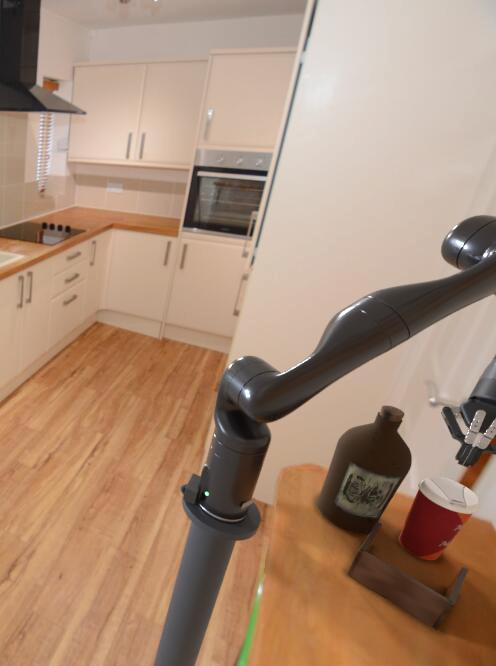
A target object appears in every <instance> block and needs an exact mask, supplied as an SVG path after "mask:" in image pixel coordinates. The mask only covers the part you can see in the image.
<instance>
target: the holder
mask: <svg viewBox="0 0 496 666" xmlns="http://www.w3.org/2000/svg"><path fill="white" fill-rule="evenodd" d="M382 525H383V523H381V522H380V521H378V522H377V523H376V525H375V526H374V528H373V529H372V531H370V532H369V534H368V535H367V537H366V538H365V540H364V541H363V542H362V544H361V546H360V547H359V549H358V551H357V552H356V554H355V556H354V558H353V560H352V562H351V564H350V566H349V568H348V570H347V572H346V575H348V576H350V577H351V578H352V579H354V580H355V581H358V582H359V583H361V584H363V585H364V586H366V587H367V588H369V589H371V590H372V591H374V592H375V593H377V594H379V595H380V596H382V597H383V598H385V599H386V600H388V601H390V602H392V604H395V605H396V606H398V607H399V608H401V609H402V610H404V611H406V612H407V613H410V614H411V615H412V616H414V617H415V618H417V619H419V620H420V621H422V622H423V623H425V624H427V625H428V626H430V627H432V628H433V629H434V630H436V631H438V630H439V629H440V627H441V626H442V625H443V623H444V621H445V620H446V619H447V617H448V615H450V613H451V611H452V610H453V608H454V607H455V605H456V602H457V600H458V598H459V595H460V592H461V590H462V588H463V585H464V582H465V579H466V578H467V574H468V573H469V569H468V568H466V567H464V566H462V567H461V568H460V570H459V571H458V573H457V574H456V576H455V577H454V578H453V580H452V582H450V585H449V586H448V587H447V589H446V592H445V593H444V595H442V594H440V593H439V592H437V591H436V590H434V589H432V588H430V587H428V586H427V585H425V584H423V583H421V582H420V581H418V580H416V579H415V578H413V577H411V576H410V575H408V574H406V573H404V572H402V571H401V570H400V569H398V568H396V567H394V566H392V565H391V564H388V563H387V562H386V561H383V560H382V559H380V558H378V557H377V556H375V555H373V554H371V553H370V552H369V550H370V549H371V546H373V543H374V541H375V539H376V537H377V535H378V533H379V532H380V529H381V527H382Z"/></svg>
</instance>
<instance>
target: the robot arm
mask: <svg viewBox="0 0 496 666" xmlns="http://www.w3.org/2000/svg"><path fill="white" fill-rule="evenodd" d="M440 254H441V257H442V259H443V260H444V261H445V262H446V263H447V264H448V265H450V266H451V267H453V268H454V269H457V270H459V272H457V273H454V274H452V275H449V276H445V277H441V278H438V279H432V280H427V281H421V282H413V283H408V284H407V283H406V284H401V285H395V286H390V287H385V288H381V289H378V290H375V291H372V292H370V293H368V294H366V295H364V296H362V297H360V298H358V299H357V300H355V301H354V302H352V303H350V304H349V305H347V306H345V307H344V308H342V309H340V310H339V311H338V312H337V313H336V314H334V315H333V316H332V317H331V319H330V320H329V321H328V323H327V324H326V325H325V328H324V330H323V332H322V334H321V336H320V339H319V341H318V343H317V345H316V347H315V349H314V350H313V351H312V352H311V353H310V354H309V356H307V357H306V358H305V359H303V360H302V361H301V362H299V363H298V364H296V365H294V366H293V367H291V368H289V369H287V370H285V371H282V372H281V371H279V369H277V368H276V367H274V366H273V365H272V364H270V363H269V362H268V361H266V360H265V359H263V358H262V357H259V356H256V355H244V356H240V357H238V358H236V359H234V360H233V361H232V362H230V364H228V365H227V367H226V368H225V370H224V371H223V374H222V375H221V377H220V380H219V385H218V387H217V388H218V389H217V393H216V398H215V405H214V409H213V421H214V429H213V433H212V438H211V441H210V445H209V448H208V452H207V456H206V460H205V462H204V464H203V466H202V469H201V473H200V475H199V474H196V473H194V472H192V474H191V476H190V478H189V480H188V482H187V483H184V484H182V485H181V486H180V492H181V493H182V497H183V500H185V501H187V502H189V503H192V504H195V505H197V506H199V507H200V509H201V510H202V511H203V512H204V513H205V514H207V515H208V516H210V517H211V518H213V519H215V520H217V521H220V522H223V523H228V524H236V523H240V522H242V521H243V520H245V518H246V516H247V513H248V509H249V505H250V504H252V503H255V501H256V500H255V499H256V497H254V493H255V490H256V487H257V484H258V482H259V478H260V475H261V472H262V469H263V466H264V464H265V460H266V457H267V454H268V451H269V449H270V445H271V443H272V432H271V429H270V427H269V424H270V423H274V422H275V423H276V422H277V421H279V420H282V419H284V418H285V417H287V416H289V415H291V414H292V413H295V411H297V410H298V409H299V408H301V407H303V406H304V405H305V404H307V403H309V401H311V400H312V399H313V398H315V397H316V396H318V395H319V394H321V393H322V392H323V391H325V390H326V389H328V388H329V387H330V386H332V385H333V384H335V383H336V382H338V381H339V380H341V379H343V378H344V377H346V376H348V375H350V374H351V373H353V372H354V371H356V370H357V369H359V368H361V367H362V366H364V365H366V364H368V363H369V362H371V361H373V360H374V359H376V358H378V357H380V356H382V355H384V354H386V353H388V352H390V351H391V350H393V349H395V348H397V347H398V346H400V345H402V344H404V343H405V342H407V341H409V340H410V339H413V338H414V337H415V336H417V335H418V334H420V333H422V332H423V331H425V330H426V329H428V328H430V327H432V326H433V325H435V324H438V323H439V322H440V321H442V320H444V319H446V318H448V317H449V316H452V315H453V314H455V313H457V312H459V311H461V310H463V309H466V308H467V307H469V306H472V305H473V304H475V303H477V302H480V301H482V300H484V299H486V298H489V297H491V296H492V295H494V297H496V215H488V214H479V215H478V214H477V215H473V216H470V217H467V218H465V219H463V220H462V221H460V222H458V223H457V224H456V225H455V226H454V227H452V228H451V229H450V231H448V233H447V234H446V235H445V236H444V239H443V240H442V243H441V246H440ZM440 414H441V416H442V419H443V421H444V423H445V425H446V427H447V430H448V432H449V434H450V436H451V438H452V439H453V440H456V441H458V442H459V443H460V447H459V449H458V451H457V453H456V454H455V456H454V459H455V460H456V461H458V462H457V465H459V466H462V467H464V468H467V469H468V468H469V467H475V466H477V464H478V463H479V461H480V459H481V457H482V455H483V454H485V453H487V454H492V455H496V444H491V442H492V440H493V439H494V438H496V353H495V354H494V356H493V358H492V360H491V361H490V363H489V364H487V366H486V367H485V368H484V370H483V371H482V374H481V375H480V376H479V378H478V381H477V382H476V384H475V386H474V388H473V389H472V391H471V393H470V394H469V396H468V398H467V400H466V401H464V402H462V403H461V404H460V405H459V406H455V407H450V406H443V407H442V409H441V411H440ZM459 414H460V415H459ZM460 416H461V418H462V420H463V423H464V425H465V427H467V428H468V430H467V432H466V434H464V432H463V431H462V429H461V427H460V425H459V422H458V421H457V419H458V418H459V417H460ZM479 433H480V434H483V435H482V436H481V438H480V440H479V441H478V442H477V443H476V445H475V446H473V445H474V443H475V441H476V439H477V436H478V434H479ZM183 494H184V496H183ZM253 497H254V498H253Z"/></svg>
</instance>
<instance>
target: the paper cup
mask: <svg viewBox="0 0 496 666" xmlns="http://www.w3.org/2000/svg"><path fill="white" fill-rule="evenodd" d="M417 485H418V490H417V492H416V494H415V497H414V499H413V502H412V504H411V506H410V508H409V511H408V513H407V516H406V518H405V520H404V523H403V525H402V528H401V530H400V533H399V536H398V542H399V544H400V546H401V547H402V548H403V549H404V550H405V551H407V552H408V553H410V554H411V555H413V556H414V557H416V558H419V559H422V560H424V561H425V560H426V561H435V560H437V559H439V557H440V556H441V555H442V554H443V553H444V552H445V550H446V549H448V546H449V545H450V544H451V542H453V540H454V539H455V538H456V536H457V535H458V533H459V532H460V531H461V530H462V529H463V527H464V526H465V524H466V523H467V521H468V520H470V518H471V517H472V515H473V514H476V513H478V512H479V511H480V504H479V502H480V501H479V498H478V496H477V495H476V493H474V491H473V490H471V489H470V488H468V487H467V486H465V485H463V484H462V483H459V482H457V481H456V480H453V479H450V478H446V477H442V476H437V475H435V476H434V475H432V476H426V477H425V478H424V479H422V480H420V481H419V482H418V484H417Z"/></svg>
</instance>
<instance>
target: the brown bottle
mask: <svg viewBox="0 0 496 666" xmlns="http://www.w3.org/2000/svg"><path fill="white" fill-rule="evenodd" d="M404 417H405V412H404V411H403V410H401V408H398V407H396V406H392V405H382V406H381V407H380V409H379V411H378V412H377V414H376V417H375V419H374V422H371V423H366V424H361V425H357V426H353V427H351V428H349V429H347V430H346V431H345V432H344V433H342V434H341V436H340V437H339V438H338V440H337V443H336V446H335V448H334V451H333V455H332V458H331V462H330V464H329V467H328V470H327V472H326V476H325V479H324V481H323V485H322V487H321V490H320V493H319V495H318V498H317V502H316V503H317V507H318V510H319V511H320V512H321V514H322V515H323V516H324V517H325V518H326V519H327V520H329V521H330V522H332V523H333V524H334V525H336V526H338V527H340V528H342V529H345V530H347V531H350V532H354V533H370V532H371V531H372V529H373V528H374V526H375V525H376V523H377V522H380V520H381V518H382V516H383V514H384V512H385V511H386V509H387V507H388V505H389V504H390V503H391V501H392V499H393V497H394V496H395V494H396V493H397V491H398V489H399V488H400V486H401V485H402V483H403V482H404V480H405V478H406V477H407V475H408V474H409V472H410V470H411V469H412V468H411V467H412V463H413V457H412V456H413V455H412V452H411V449H410V447H409V446H408V444H407V443H406V441H405V440H404V438H403V437H402V436H401V434H400V433H399V429H400V427H401V425H402V423H403V419H404Z"/></svg>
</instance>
